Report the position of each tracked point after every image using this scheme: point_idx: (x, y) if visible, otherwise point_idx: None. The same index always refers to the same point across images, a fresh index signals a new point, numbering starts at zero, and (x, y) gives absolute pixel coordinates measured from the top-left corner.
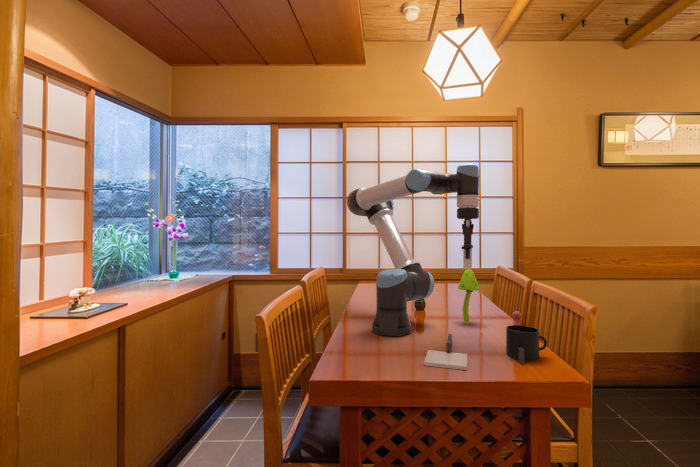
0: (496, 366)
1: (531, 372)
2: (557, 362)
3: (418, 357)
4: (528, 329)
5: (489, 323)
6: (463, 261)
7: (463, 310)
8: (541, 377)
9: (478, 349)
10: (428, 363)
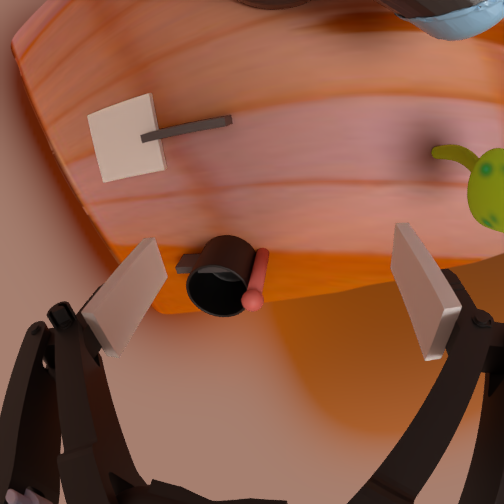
0: (147, 220)
1: None
2: None
3: (121, 87)
4: None
5: None
6: (124, 260)
7: (459, 149)
8: None
9: (232, 182)
10: (89, 122)
